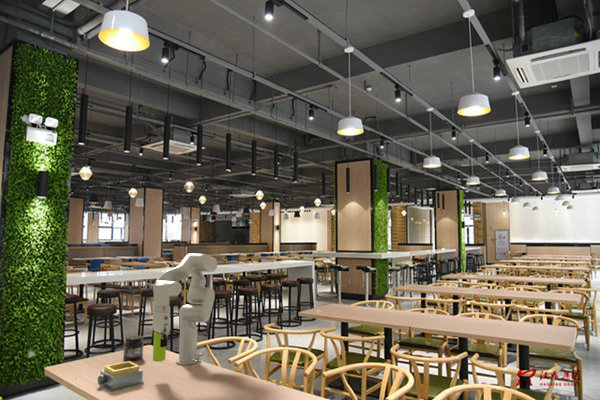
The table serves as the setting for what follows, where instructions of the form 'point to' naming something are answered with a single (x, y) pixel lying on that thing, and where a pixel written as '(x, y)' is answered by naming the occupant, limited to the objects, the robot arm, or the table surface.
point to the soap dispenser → (158, 348)
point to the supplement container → (133, 348)
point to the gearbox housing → (120, 376)
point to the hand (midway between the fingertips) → (160, 345)
